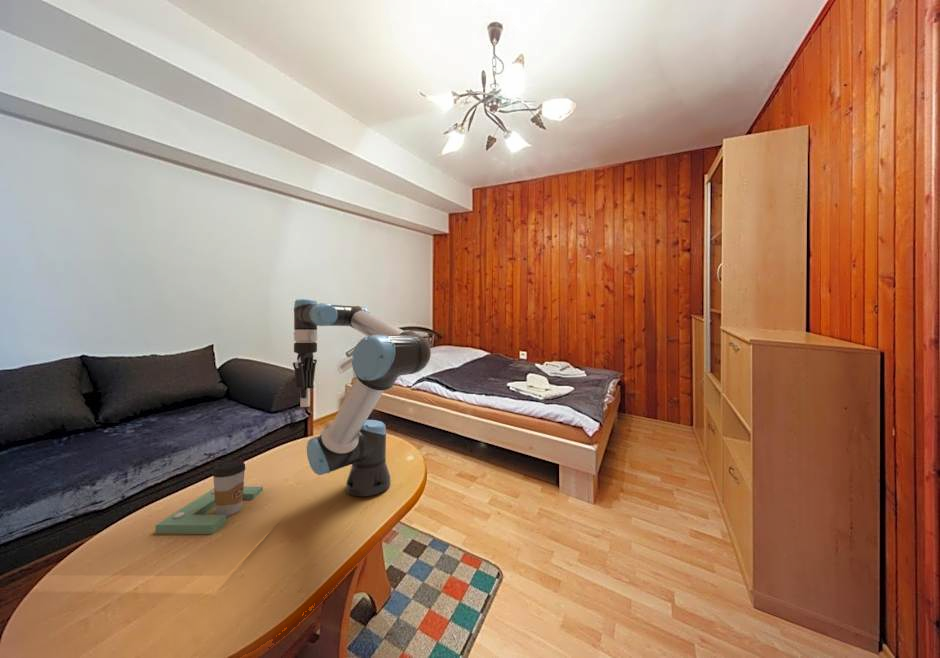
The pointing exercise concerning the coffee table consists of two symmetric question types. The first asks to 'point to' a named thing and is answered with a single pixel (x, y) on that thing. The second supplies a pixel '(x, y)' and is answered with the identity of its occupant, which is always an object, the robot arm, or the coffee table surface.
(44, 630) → the coffee table surface
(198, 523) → the mint green u-shaped piece
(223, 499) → the coffee cup
